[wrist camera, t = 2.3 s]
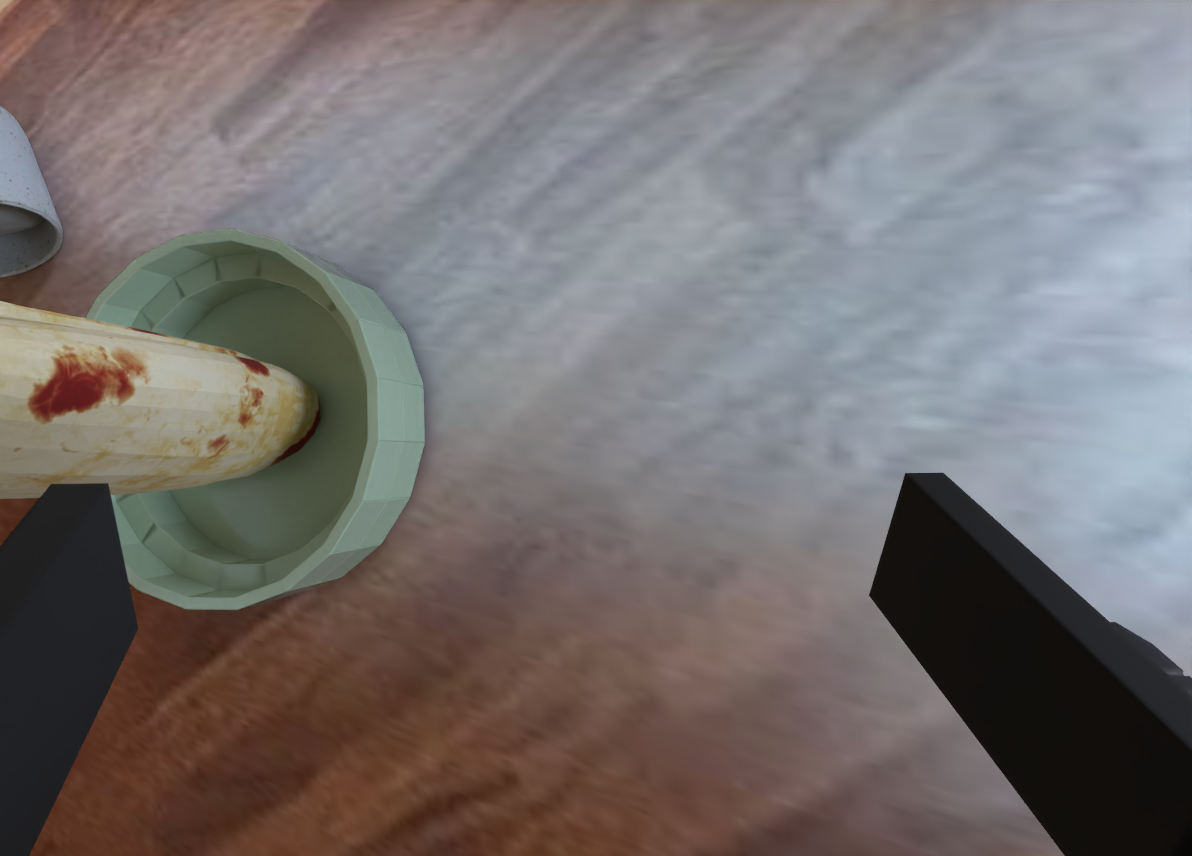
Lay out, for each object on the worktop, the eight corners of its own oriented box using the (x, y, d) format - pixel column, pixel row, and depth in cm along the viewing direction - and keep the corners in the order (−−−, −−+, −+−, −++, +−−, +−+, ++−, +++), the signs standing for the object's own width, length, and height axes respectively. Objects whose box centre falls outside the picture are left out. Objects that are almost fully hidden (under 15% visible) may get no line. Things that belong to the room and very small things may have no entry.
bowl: (100, 331, 47) (19, 316, 42) (366, 201, 43) (310, 168, 38) (185, 635, 44) (109, 657, 40) (474, 528, 40) (429, 538, 36)
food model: (218, 515, 44) (-249, 561, 24) (178, 404, 45) (-302, 362, 25) (366, 442, 42) (-15, 427, 22) (322, 326, 43) (-81, 216, 23)
